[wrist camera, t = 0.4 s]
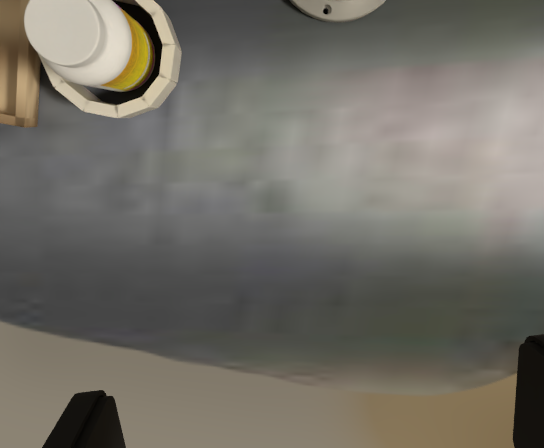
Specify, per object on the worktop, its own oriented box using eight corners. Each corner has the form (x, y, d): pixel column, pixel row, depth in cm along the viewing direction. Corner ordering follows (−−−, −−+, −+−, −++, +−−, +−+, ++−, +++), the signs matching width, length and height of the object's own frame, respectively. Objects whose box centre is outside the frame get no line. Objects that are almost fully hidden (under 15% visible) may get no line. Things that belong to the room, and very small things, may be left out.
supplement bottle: (159, 22, 38) (119, -22, 26) (154, 97, 40) (114, 89, 27) (84, 10, 37) (5, -42, 25) (82, 86, 39) (7, 73, 27)
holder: (63, -24, 36) (42, -40, 33) (188, 5, 38) (181, -8, 34) (55, 103, 39) (34, 101, 35) (171, 126, 40) (164, 127, 37)
